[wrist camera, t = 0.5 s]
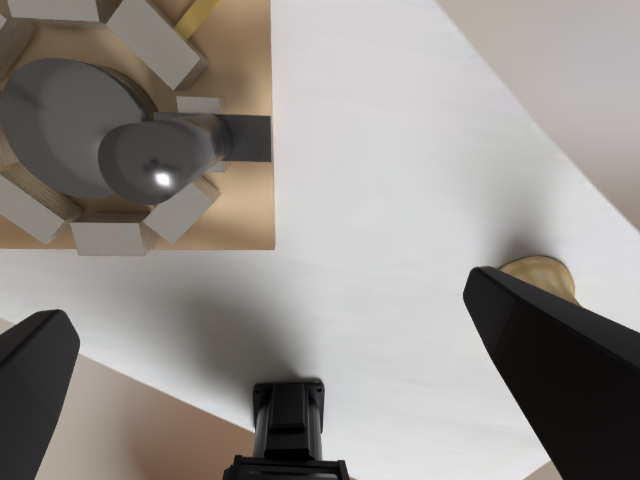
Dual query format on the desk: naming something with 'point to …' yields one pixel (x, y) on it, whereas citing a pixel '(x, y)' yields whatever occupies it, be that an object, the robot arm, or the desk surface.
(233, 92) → the oak board
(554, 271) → the hand bell
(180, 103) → the block ring with rod
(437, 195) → the desk surface
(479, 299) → the robot arm
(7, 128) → the grey metal puck
